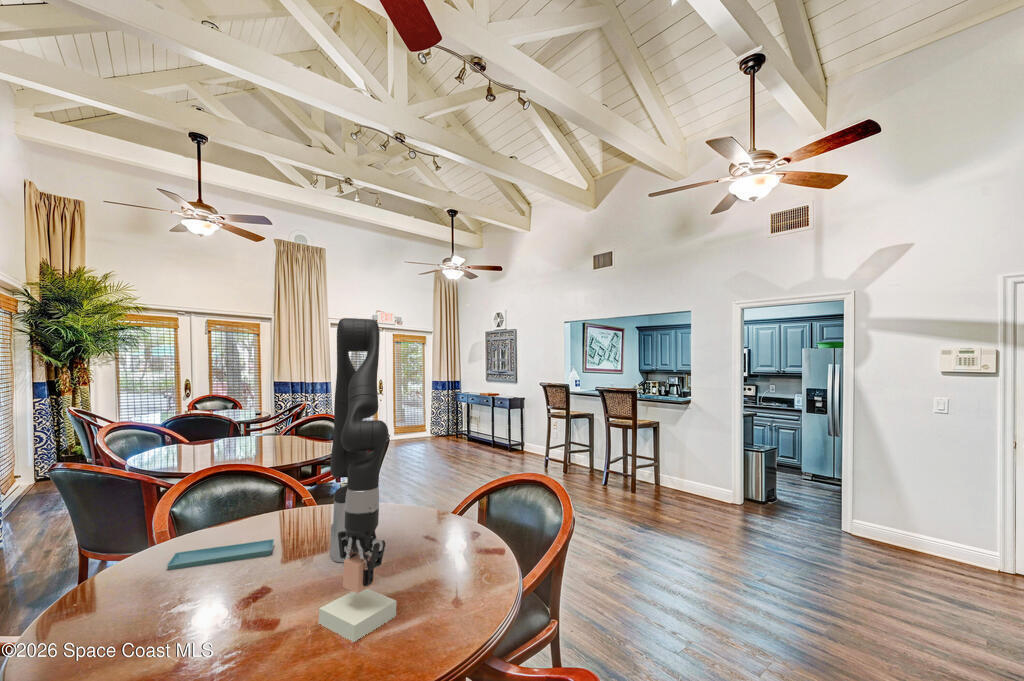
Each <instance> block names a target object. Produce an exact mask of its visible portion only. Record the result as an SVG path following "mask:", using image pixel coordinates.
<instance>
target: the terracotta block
mask: <svg viewBox="0 0 1024 681" xmlns="http://www.w3.org/2000/svg"><path fill="white" fill-rule="evenodd" d="M366 554H367V553H365V555H366ZM368 563H370V559H369V558H368ZM376 569H377V567H376V568H374V575H373V582H372V584H370V585H368V586H366V587H365V586H363V570H364V566H363V561H362V560H361V559H360V555H359V554H358V555H355V556H353V557H351V558H348V559H346V560H344V562H343V573H342V574H343V576H342V588H344V589H346V590H347V591H348V590H349V591H350V592H352V591H353V592H356V593H359V592H361V591H363V590H365V589H369V588H370V587H373V586H374V585H375V584H376Z"/></svg>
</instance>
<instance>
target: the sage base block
mask: <svg viewBox="0 0 1024 681" xmlns="http://www.w3.org/2000/svg"><path fill="white" fill-rule="evenodd" d="M395 616H396V617H397V600H396V599H394V598H391V597H390V596H389V597H388V596H387V595H384V594H381V593H379V592H376V591H374V590H372V589H369V588H367V589H365V590H363V591H361V592H359V593H356V592H353V591H350V592H348V593H347V594H344V595H343V596H341V597H339V598H337V599H335V600H333V601H331V602H329V603H326V604H325V605H323V606H321V607H319V609H318V625H319V624H321V625H322V626H324V627H326V628H328V629H330V630H332V631H333V632H335V633H338V634H339V635H341V636H342V637H341V636H340V637H341V638H343V637H344V638H343V639H345V638H346V639H345V640H347V639H349V640H351V641H352V642H351V641H350V642H351V643H353V642H355V641H356V642H358V641H359V640H358V639H360V638H361V639H362V637H363V636H364V637H366V636H367V635H369V634H370V632H371V633H372V632H373V630H374V631H375V630H377V629H378V627H379V628H380V627H382V626H384V623H385V624H386V623H388V622H390V621H391V620H393V619H394V618H396V617H395ZM392 618H393V619H392ZM389 620H390V621H389ZM381 625H382V626H381ZM322 626H321V627H322ZM324 627H323V628H324ZM326 628H325V629H326ZM376 628H377V629H376ZM333 632H332V633H333ZM335 633H334V634H335ZM368 633H369V634H368ZM366 634H367V635H366ZM339 635H338V636H339ZM365 635H366V636H365ZM364 637H363V638H364ZM361 639H360V640H361ZM349 640H348V641H349ZM357 640H358V641H357ZM356 642H355V643H356Z"/></svg>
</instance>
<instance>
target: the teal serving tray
mask: <svg viewBox="0 0 1024 681" xmlns="http://www.w3.org/2000/svg"><path fill="white" fill-rule="evenodd" d="M274 543H275V539H273V538H272V539H267V540H265V539H264V540H258V541H253V542H245V543H236V544H230V545H223V546H216V547H215V546H213V547H208V548H200V549H193V550H186V551H180V552H175V553H174V554H173V556H172V557H171V559H170V560H169V561H168V563H167V565H166V566H167V568H168V569H169V570H171V571H172V570H178V569H180V570H181V569H186V568H193V567H194V568H195V567H199V566H201V567H202V566H207V565H215V564H220V563H221V564H222V563H228V562H229V563H230V562H236V561H242V560H243V561H244V560H250V559H257V558H263V557H268V556H270V555H271V553H272V552H273V550H274V548H273V547H274Z"/></svg>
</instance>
